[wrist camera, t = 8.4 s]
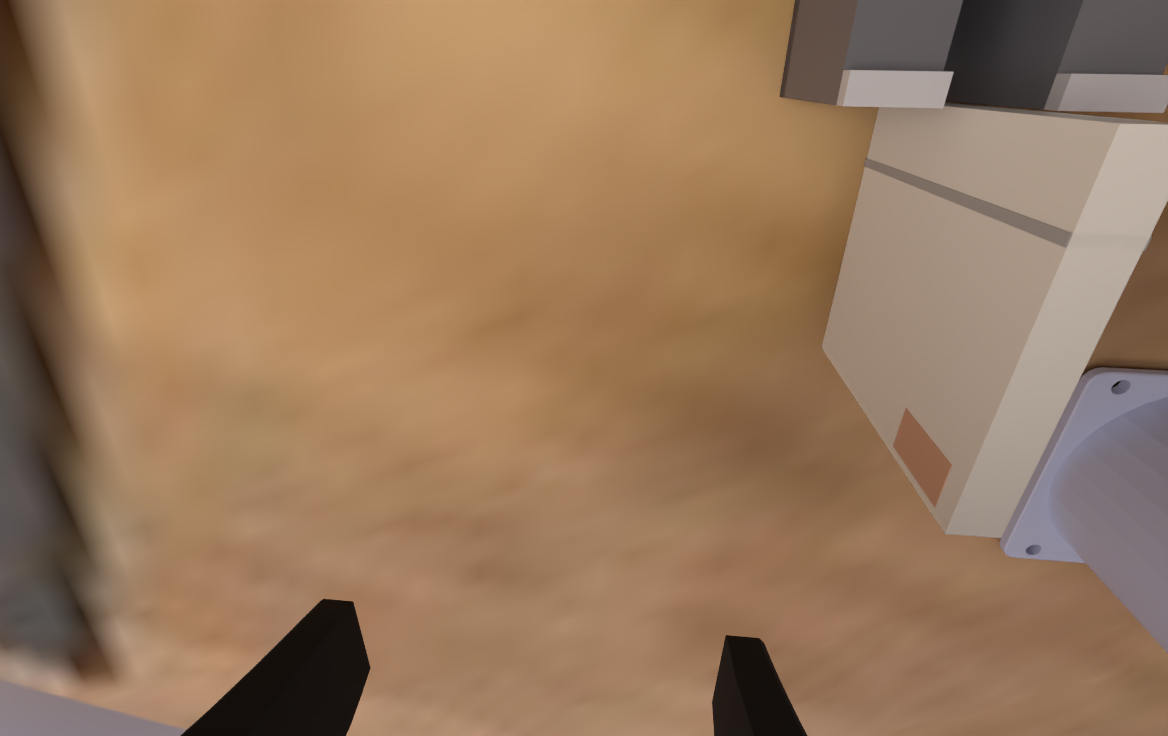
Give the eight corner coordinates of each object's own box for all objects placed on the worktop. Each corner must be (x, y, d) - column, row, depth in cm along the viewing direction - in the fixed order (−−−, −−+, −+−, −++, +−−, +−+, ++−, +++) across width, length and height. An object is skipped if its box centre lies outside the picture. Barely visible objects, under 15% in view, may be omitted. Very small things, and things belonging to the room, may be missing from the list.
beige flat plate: (923, 100, 14) (1207, 125, 7) (855, 350, 17) (1003, 538, 10) (879, 100, 14) (1117, 123, 7) (820, 347, 17) (942, 533, 10)
